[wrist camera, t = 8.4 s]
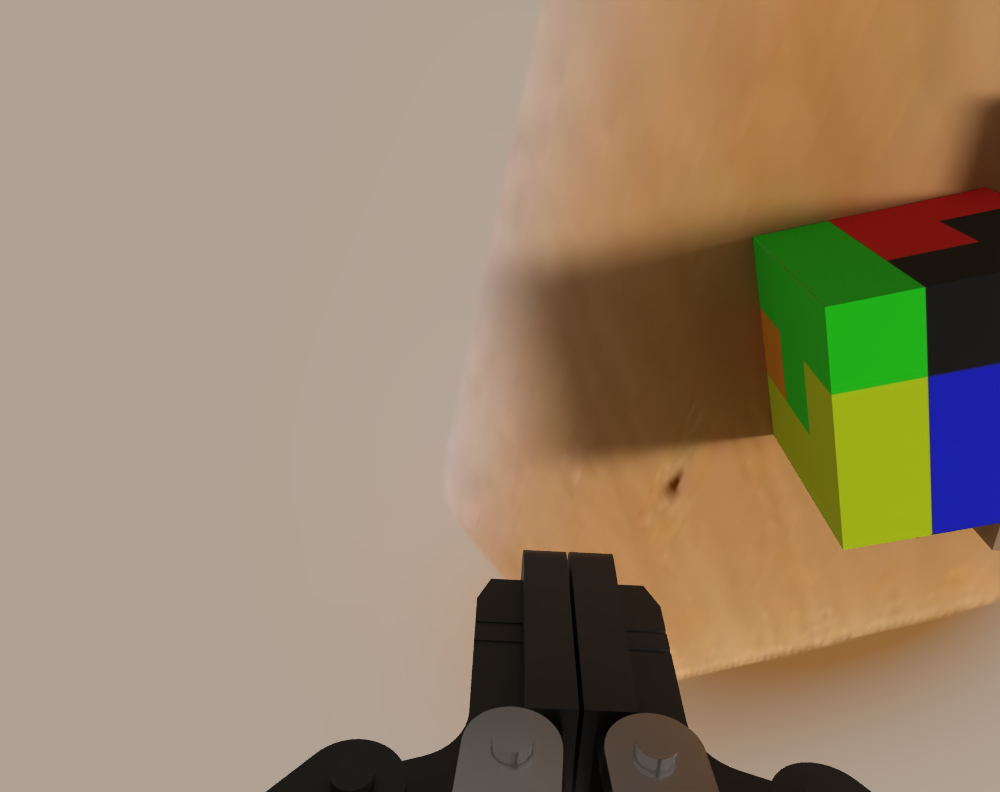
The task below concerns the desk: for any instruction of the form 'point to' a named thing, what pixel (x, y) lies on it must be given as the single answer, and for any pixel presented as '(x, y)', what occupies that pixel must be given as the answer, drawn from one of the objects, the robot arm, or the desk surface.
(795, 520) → the desk surface
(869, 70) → the desk surface
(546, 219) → the desk surface
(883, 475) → the puzzle toy
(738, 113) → the desk surface
